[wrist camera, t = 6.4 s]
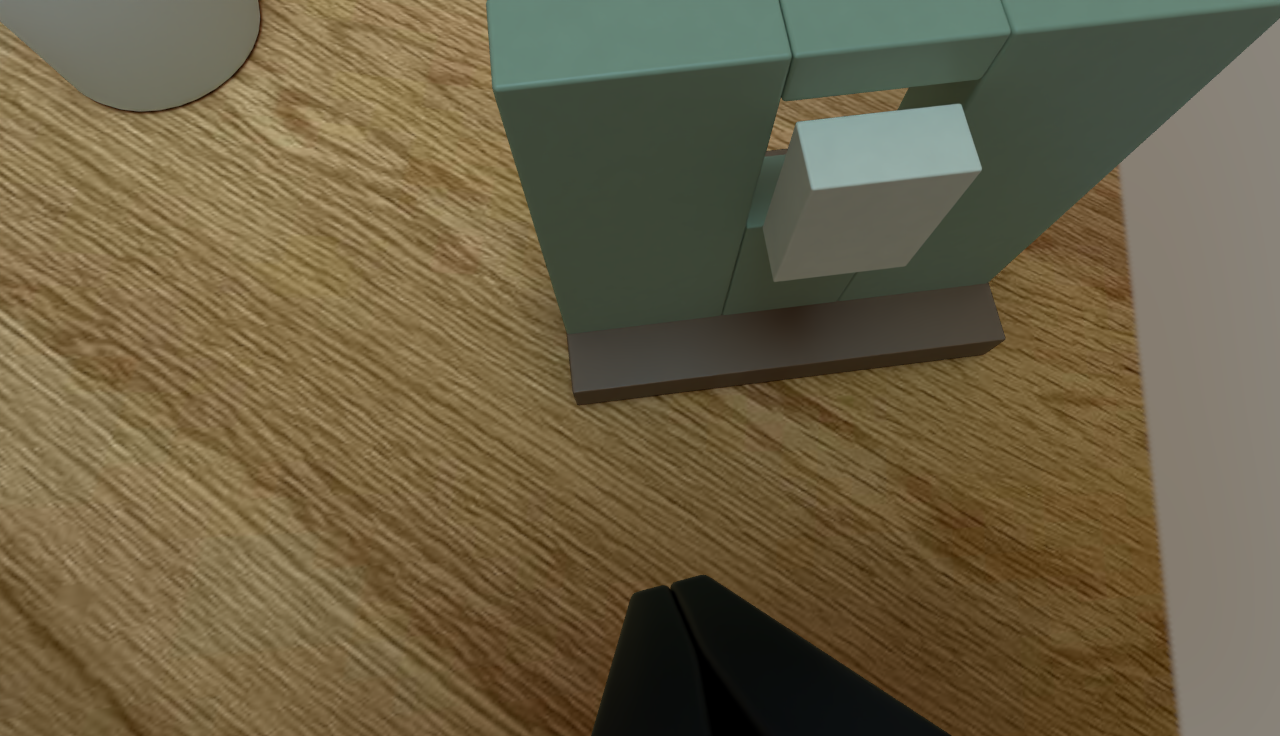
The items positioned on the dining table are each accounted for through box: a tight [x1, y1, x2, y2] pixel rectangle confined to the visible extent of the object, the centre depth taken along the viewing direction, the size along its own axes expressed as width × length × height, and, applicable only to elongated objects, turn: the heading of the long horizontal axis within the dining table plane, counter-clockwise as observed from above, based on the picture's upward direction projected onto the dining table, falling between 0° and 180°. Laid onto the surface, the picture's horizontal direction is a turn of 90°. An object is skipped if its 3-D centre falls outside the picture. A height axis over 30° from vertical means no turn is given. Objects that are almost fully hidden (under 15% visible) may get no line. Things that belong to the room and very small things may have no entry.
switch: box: [763, 104, 982, 282], centre depth 15 cm, size 2×3×4 cm, turn 97°
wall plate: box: [486, 0, 1280, 405], centre depth 19 cm, size 8×14×13 cm, turn 97°
